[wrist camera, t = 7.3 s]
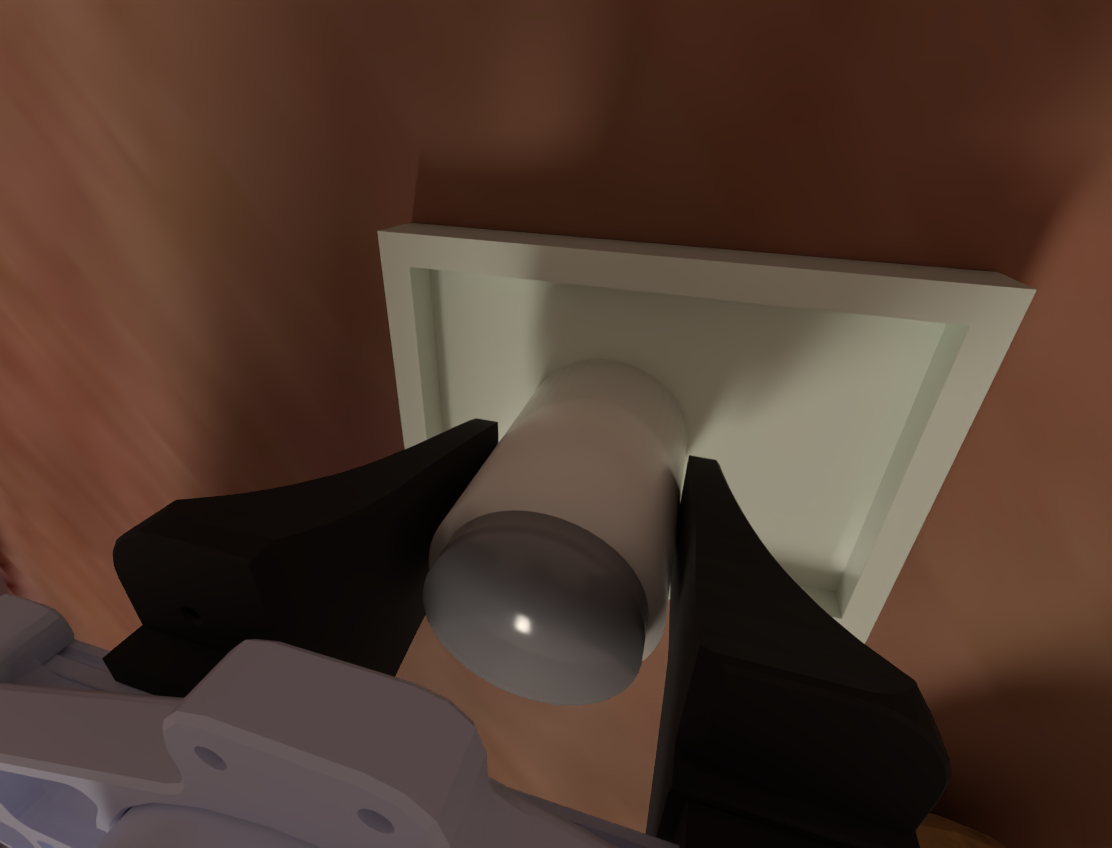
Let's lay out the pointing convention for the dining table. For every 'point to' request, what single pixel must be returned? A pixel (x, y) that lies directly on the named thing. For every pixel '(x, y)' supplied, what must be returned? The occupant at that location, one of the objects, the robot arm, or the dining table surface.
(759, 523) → the tray
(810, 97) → the dining table surface
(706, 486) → the robot arm
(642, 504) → the shaker
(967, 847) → the potato
